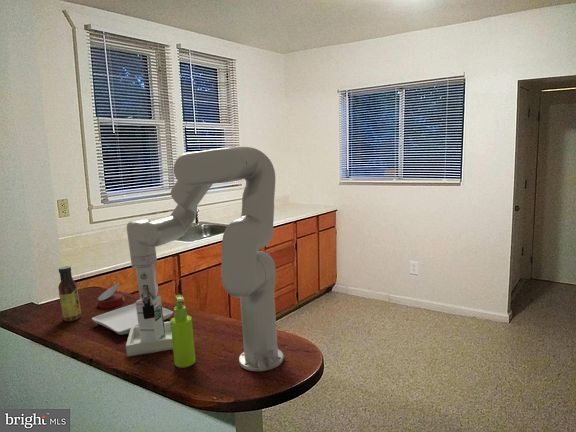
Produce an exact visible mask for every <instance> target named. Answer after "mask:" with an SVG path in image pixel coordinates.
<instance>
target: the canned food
mask: <svg viewBox="0 0 576 432" xmlns="http://www.w3.org/2000/svg"><path fill="white" fill-rule="evenodd" d="M119 285H120V282H118V283H115V284H114V285H113V286H111V287H109V288H107V289H106V290H105V291H104V292H102V293H101V294H100V295H99V296H98V298H97V303H98V307H99V308H102V309H110V308H115V307H118V306H121V305H122V304H124V303H125V296H124V293H123V292H116V291H117V289H118V288H119Z"/></svg>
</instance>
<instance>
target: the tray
mask: <svg viewBox="0 0 576 432" xmlns="http://www.w3.org/2000/svg"><path fill="white" fill-rule="evenodd" d="M164 328H165V335H166V337H165V338H164V339H157V340H151V341H144V342H141V340H140V333H139V326H134V327H131V329H130V333H129V334H128V337H127V341H126V342H125V350H126V351H125V352H126V356H127V357H133V356H139V355H146V354H153V353H159V352H165V351H171V350H172V351H173V343H172V333H171V324H170V321H164Z"/></svg>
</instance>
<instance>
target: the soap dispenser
mask: <svg viewBox="0 0 576 432" xmlns="http://www.w3.org/2000/svg"><path fill="white" fill-rule="evenodd" d="M174 299H175V306H174V307H173V316H174V317H171V319H170V324H171V333H172V343H173V349H172V352H173V360H174V366H175V367H177V368H188V367H190V366H192V365H194V364H195V363H196V360H197V359H196V351H195V349H196V348H195V337H194V331H193V330H194V329H193V327H194V326H193V319H192V316H190V315H188V313H187V306H186V305H184V304H183V303H185V298H184V297H183V295H182V294H177V295H176V294H175V295H174Z"/></svg>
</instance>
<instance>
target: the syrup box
mask: <svg viewBox="0 0 576 432" xmlns="http://www.w3.org/2000/svg"><path fill="white" fill-rule="evenodd" d="M149 300H150V299H149ZM135 303H136V311H137V318H138V326H139V333H140V340H141V342H144V341H151V340H157V339H164V338H165V337H166V335H165V328H164V322H165V320H163V312H162V307H163V305H162V297H161V295H160V294H157V296H156V297H154V296H153V297H152V305H154V313H155V317H154V318H149V319H144V316H143V308H142V306H143V304H142V299H141V298H139V299H138V300H136V301H135V302H134V304H135Z"/></svg>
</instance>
